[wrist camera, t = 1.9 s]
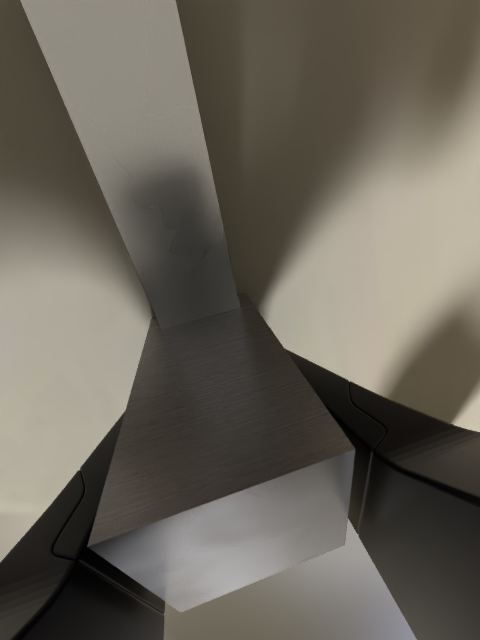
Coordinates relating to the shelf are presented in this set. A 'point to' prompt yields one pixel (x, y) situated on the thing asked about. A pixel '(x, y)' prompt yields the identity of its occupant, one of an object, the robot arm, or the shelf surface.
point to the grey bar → (189, 333)
